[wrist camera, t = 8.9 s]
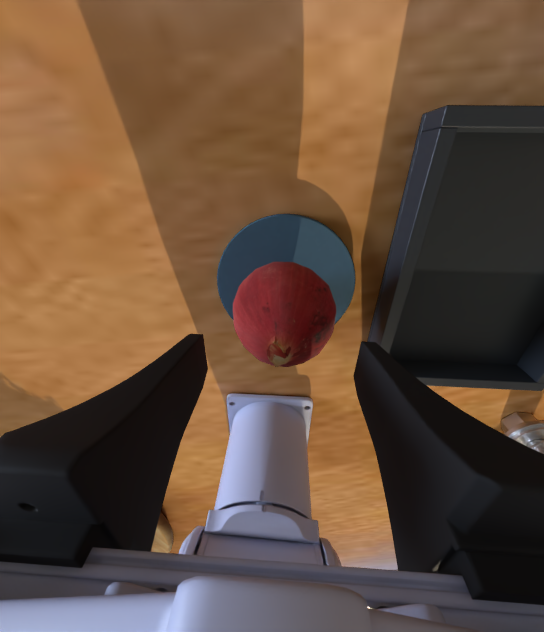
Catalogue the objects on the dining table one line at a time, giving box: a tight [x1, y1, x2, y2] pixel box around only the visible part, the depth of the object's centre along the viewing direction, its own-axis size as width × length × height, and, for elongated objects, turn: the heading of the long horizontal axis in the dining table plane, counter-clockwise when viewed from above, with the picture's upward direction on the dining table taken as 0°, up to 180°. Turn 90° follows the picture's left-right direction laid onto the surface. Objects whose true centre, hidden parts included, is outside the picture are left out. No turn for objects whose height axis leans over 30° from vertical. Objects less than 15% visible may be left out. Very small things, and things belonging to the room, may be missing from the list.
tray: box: [367, 105, 544, 391], centre depth 16 cm, size 17×13×2 cm
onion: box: [233, 262, 336, 367], centre depth 15 cm, size 6×6×8 cm
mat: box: [217, 214, 355, 324], centre depth 18 cm, size 10×10×1 cm
